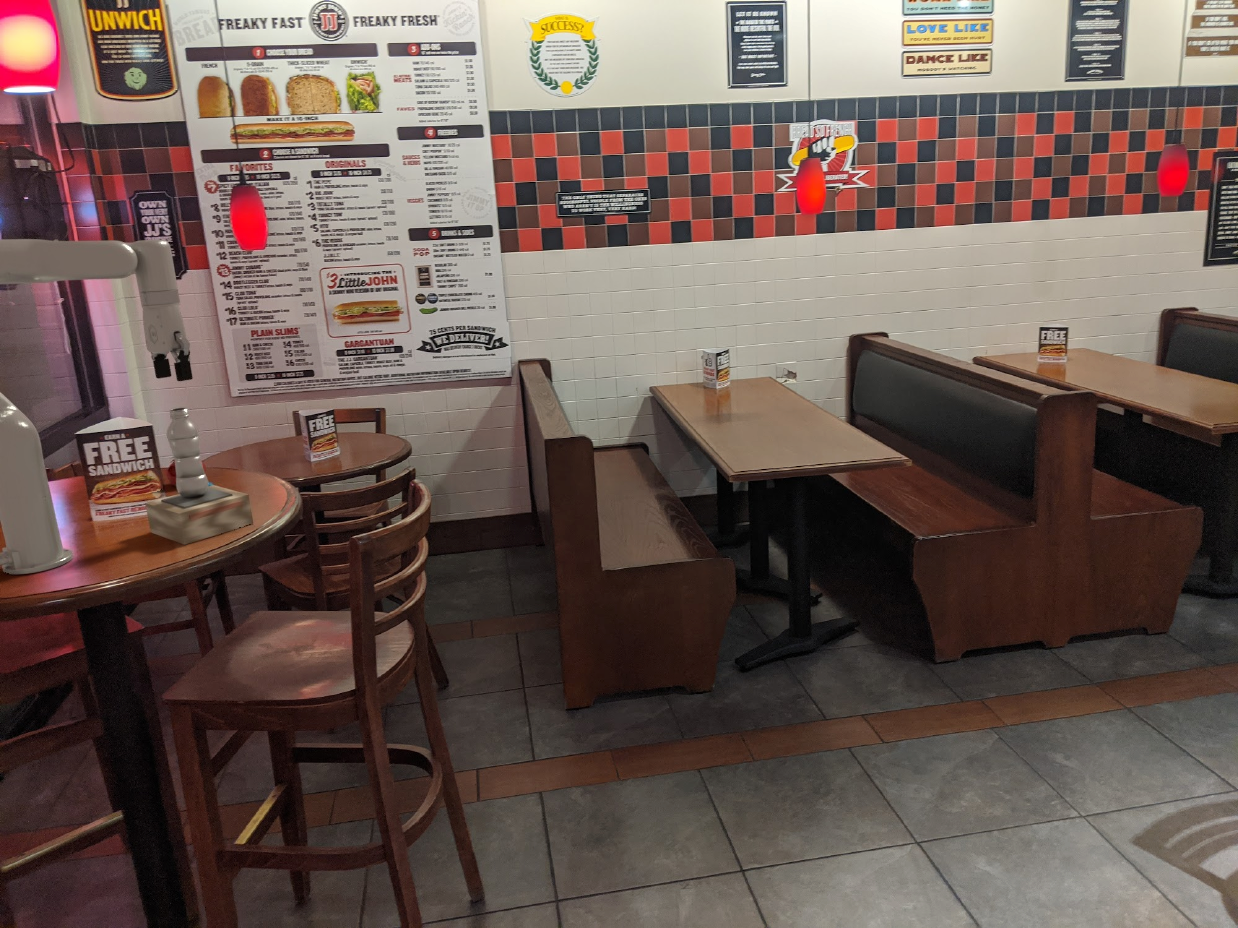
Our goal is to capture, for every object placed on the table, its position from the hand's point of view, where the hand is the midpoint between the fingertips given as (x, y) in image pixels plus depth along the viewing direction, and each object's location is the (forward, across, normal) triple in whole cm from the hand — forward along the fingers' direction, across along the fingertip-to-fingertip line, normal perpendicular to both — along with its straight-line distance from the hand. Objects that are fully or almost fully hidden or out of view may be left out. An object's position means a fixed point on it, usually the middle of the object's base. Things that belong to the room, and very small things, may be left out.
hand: (174, 378), depth 200 cm
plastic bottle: (+27, -1, 0) cm, 27 cm away
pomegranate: (+34, -43, +18) cm, 58 cm away
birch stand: (+34, 0, 0) cm, 34 cm away
